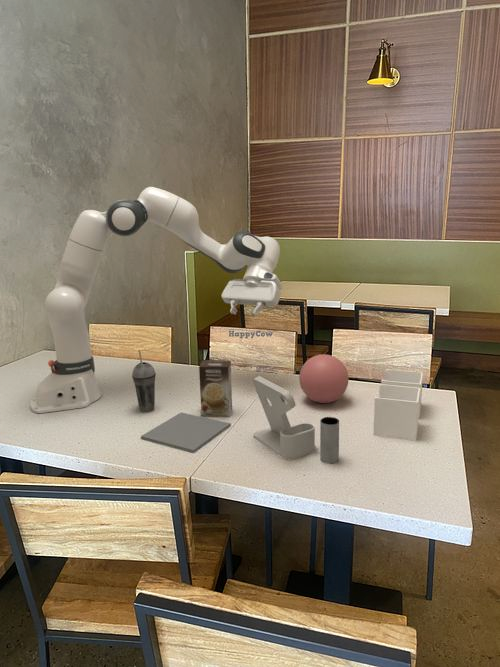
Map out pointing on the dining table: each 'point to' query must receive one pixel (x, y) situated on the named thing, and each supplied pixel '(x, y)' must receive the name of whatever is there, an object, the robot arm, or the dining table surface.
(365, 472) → the dining table surface
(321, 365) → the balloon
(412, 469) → the dining table surface
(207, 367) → the coffee box
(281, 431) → the phone holder
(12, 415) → the dining table surface
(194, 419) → the mat
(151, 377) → the beverage cup
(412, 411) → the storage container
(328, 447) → the gray cylinder
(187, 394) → the dining table surface
